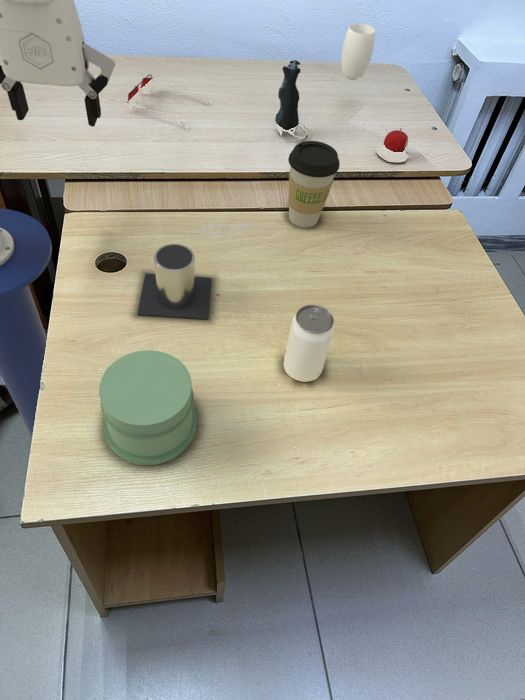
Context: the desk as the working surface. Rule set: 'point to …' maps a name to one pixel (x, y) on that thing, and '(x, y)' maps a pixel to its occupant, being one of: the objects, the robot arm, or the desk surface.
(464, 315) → the desk surface
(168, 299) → the silver cup
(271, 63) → the desk surface
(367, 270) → the desk surface
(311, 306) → the can
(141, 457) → the green short cylinder
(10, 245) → the robot arm
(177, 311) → the mat
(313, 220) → the coffee cup
